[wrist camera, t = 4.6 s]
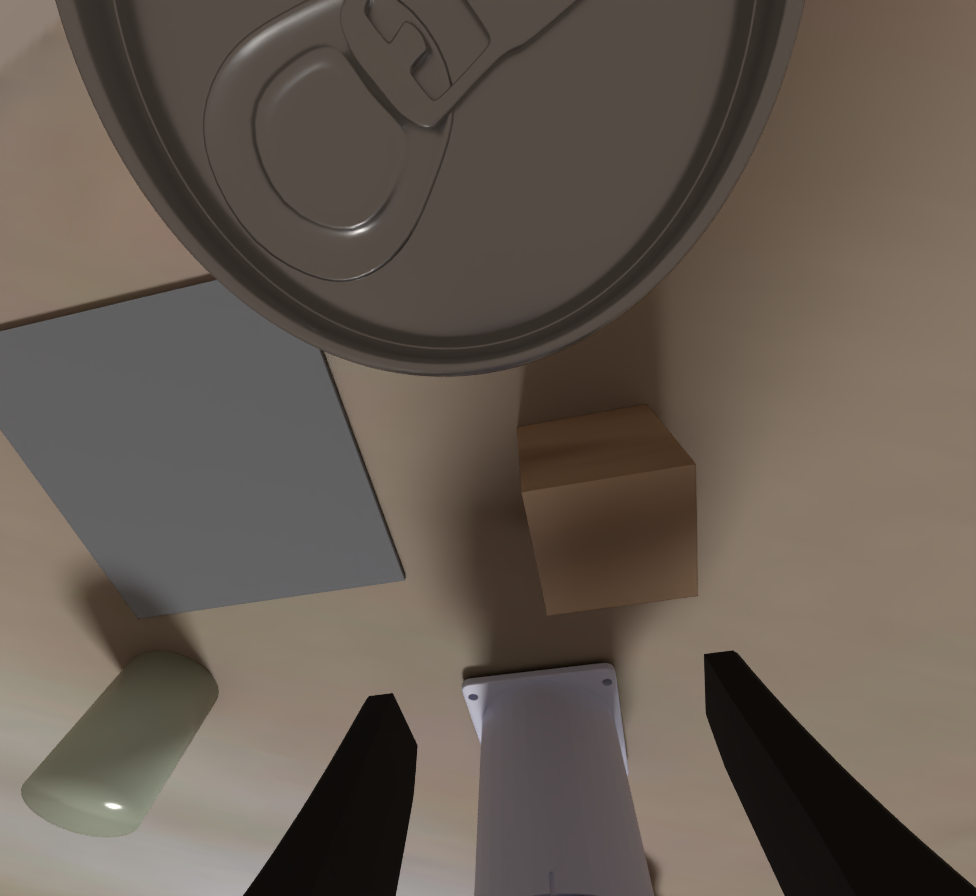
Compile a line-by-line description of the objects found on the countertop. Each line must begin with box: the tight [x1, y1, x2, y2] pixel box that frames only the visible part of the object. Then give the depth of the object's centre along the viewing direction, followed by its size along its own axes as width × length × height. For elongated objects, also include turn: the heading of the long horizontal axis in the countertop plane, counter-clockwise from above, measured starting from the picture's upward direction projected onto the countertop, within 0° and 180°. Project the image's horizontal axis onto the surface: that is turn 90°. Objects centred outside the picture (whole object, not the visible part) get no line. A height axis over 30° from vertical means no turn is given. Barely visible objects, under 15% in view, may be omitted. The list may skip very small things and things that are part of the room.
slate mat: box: [0, 280, 406, 619], centre depth 19 cm, size 14×14×1 cm
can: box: [55, 0, 805, 377], centre depth 9 cm, size 6×6×12 cm
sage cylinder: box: [21, 651, 219, 837], centre depth 22 cm, size 5×5×6 cm
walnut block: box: [517, 404, 698, 616], centre depth 16 cm, size 5×5×5 cm
